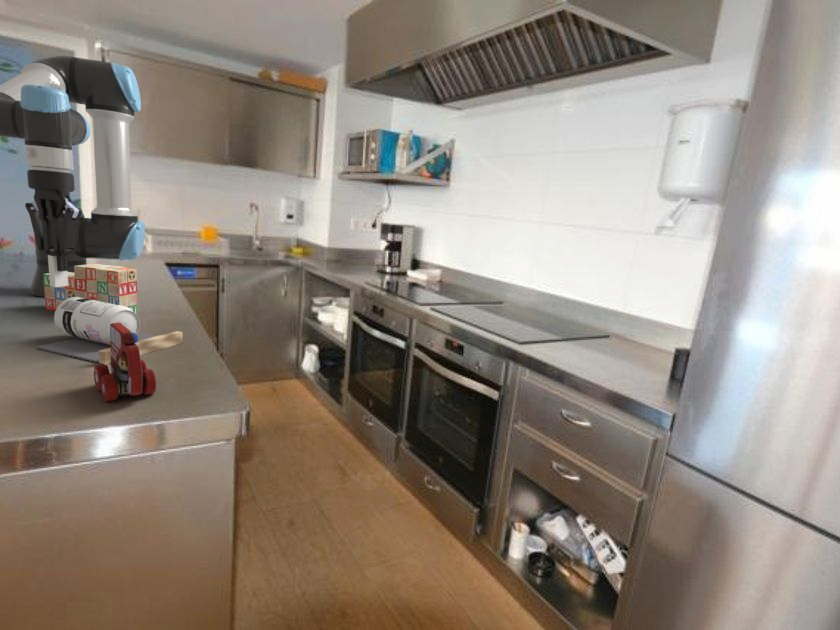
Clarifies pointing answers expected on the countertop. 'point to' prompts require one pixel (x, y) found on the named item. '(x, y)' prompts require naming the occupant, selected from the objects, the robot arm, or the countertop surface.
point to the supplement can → (93, 319)
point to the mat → (83, 347)
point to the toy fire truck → (124, 367)
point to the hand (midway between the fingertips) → (59, 285)
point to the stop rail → (147, 345)
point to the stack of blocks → (95, 286)
